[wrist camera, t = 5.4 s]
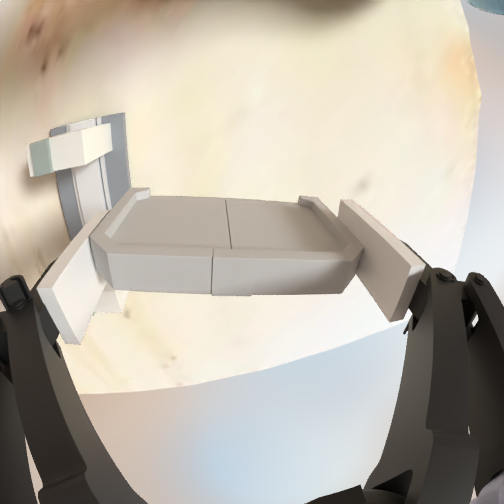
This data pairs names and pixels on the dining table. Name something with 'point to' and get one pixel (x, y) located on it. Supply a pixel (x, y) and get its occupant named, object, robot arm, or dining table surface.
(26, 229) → the dining table surface
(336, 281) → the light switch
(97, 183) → the rail board
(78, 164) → the mounted modules
